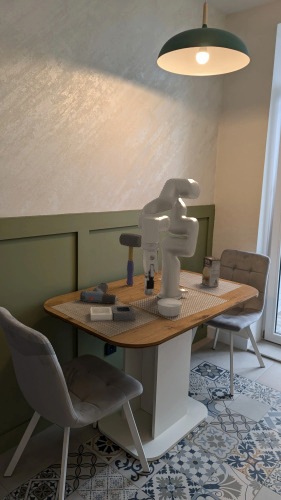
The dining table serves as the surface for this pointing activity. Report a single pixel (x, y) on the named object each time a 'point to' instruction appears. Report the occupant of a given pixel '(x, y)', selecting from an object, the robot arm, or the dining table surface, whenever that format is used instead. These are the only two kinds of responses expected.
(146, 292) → the shiny metal canister
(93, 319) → the tray
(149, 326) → the dining table surface
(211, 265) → the coffee box
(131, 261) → the rubber mallet
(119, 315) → the block
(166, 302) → the ramekin
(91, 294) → the power drill
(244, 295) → the dining table surface
